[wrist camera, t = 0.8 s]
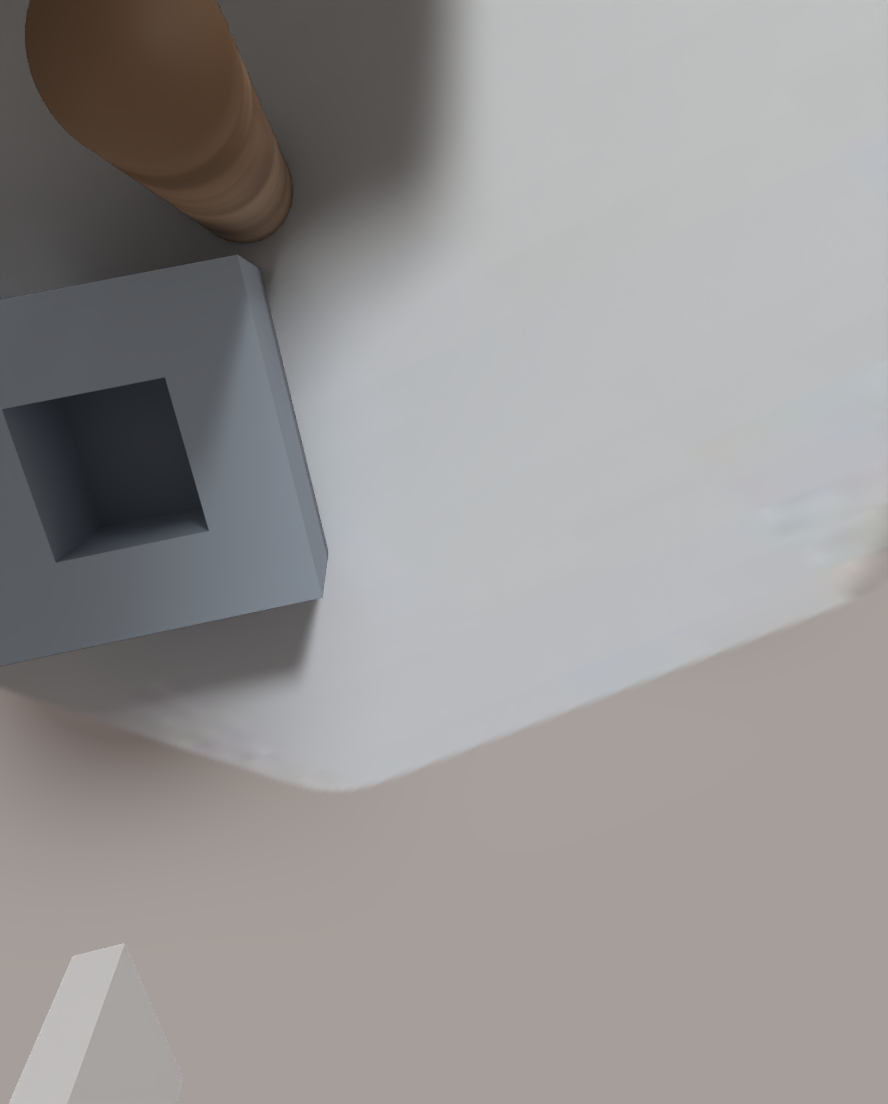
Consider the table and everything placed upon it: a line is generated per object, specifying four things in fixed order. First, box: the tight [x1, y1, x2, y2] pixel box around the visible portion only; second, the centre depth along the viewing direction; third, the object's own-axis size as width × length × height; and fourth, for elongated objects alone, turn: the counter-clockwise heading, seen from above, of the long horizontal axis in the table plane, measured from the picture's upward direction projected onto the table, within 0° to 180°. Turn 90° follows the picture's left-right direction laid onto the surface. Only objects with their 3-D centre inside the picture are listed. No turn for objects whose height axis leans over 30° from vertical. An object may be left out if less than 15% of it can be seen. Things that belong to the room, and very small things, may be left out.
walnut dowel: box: [25, 0, 293, 243], centre depth 23 cm, size 4×4×15 cm
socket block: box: [0, 255, 328, 666], centre depth 29 cm, size 12×12×6 cm
